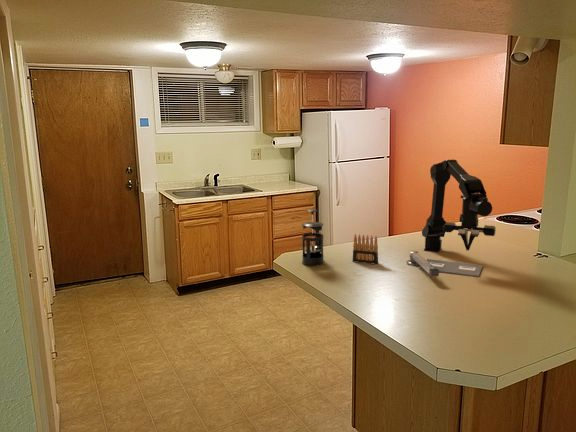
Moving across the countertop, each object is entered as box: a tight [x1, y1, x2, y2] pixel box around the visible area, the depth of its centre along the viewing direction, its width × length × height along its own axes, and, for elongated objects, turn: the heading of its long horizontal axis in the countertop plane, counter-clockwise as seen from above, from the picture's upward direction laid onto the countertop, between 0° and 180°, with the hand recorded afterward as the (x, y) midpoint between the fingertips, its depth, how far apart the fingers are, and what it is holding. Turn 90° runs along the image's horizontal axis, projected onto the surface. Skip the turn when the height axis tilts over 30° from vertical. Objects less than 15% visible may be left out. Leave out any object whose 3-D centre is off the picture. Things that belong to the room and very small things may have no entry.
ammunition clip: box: [352, 233, 379, 265], centre depth 198 cm, size 11×2×12 cm, turn 65°
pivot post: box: [405, 257, 420, 267], centre depth 195 cm, size 6×6×3 cm
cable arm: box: [409, 250, 440, 277], centre depth 184 cm, size 26×4×2 cm, turn 3°
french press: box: [301, 208, 325, 267], centre depth 198 cm, size 12×9×23 cm
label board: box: [419, 258, 483, 278], centre depth 188 cm, size 22×14×1 cm, turn 62°
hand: (467, 250), depth 184 cm, fingers closed
